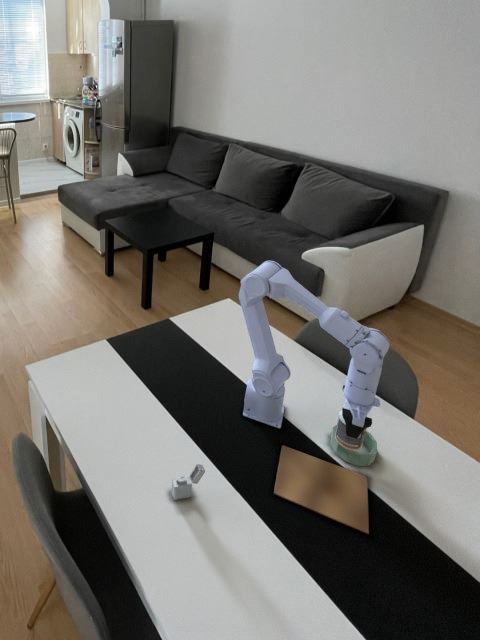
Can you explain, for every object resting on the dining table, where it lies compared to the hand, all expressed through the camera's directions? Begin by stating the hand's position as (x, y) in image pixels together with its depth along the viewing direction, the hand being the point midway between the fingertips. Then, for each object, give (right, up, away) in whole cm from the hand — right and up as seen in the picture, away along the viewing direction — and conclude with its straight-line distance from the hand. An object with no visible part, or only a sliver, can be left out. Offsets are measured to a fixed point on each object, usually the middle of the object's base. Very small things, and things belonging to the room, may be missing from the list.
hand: (351, 426), depth 100 cm
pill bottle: (0, -5, +2) cm, 5 cm away
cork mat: (-8, -13, -2) cm, 15 cm away
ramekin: (+4, -9, +6) cm, 11 cm away
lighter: (-39, -15, -2) cm, 42 cm away
